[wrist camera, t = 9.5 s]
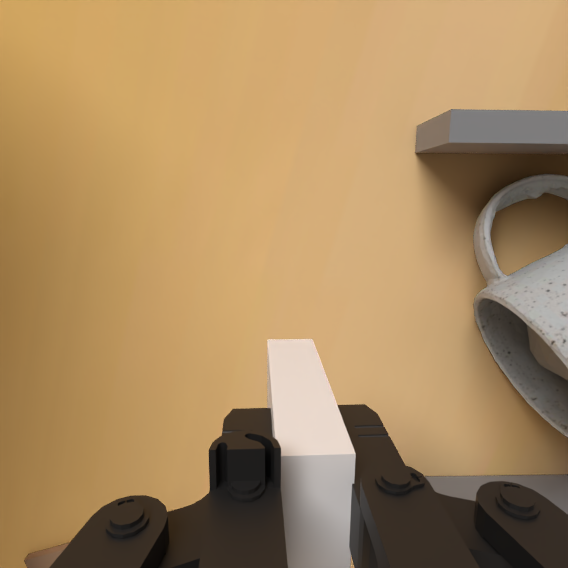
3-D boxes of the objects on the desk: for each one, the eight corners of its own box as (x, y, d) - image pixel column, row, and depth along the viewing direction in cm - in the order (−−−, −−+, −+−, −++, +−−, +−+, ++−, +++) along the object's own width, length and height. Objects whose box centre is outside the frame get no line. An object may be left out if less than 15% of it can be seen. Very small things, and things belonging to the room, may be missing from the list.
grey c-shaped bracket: (394, 496, 24) (418, 553, 21) (416, 125, 21) (451, 109, 17) (645, 492, 25) (716, 548, 21) (711, 129, 21) (811, 114, 17)
